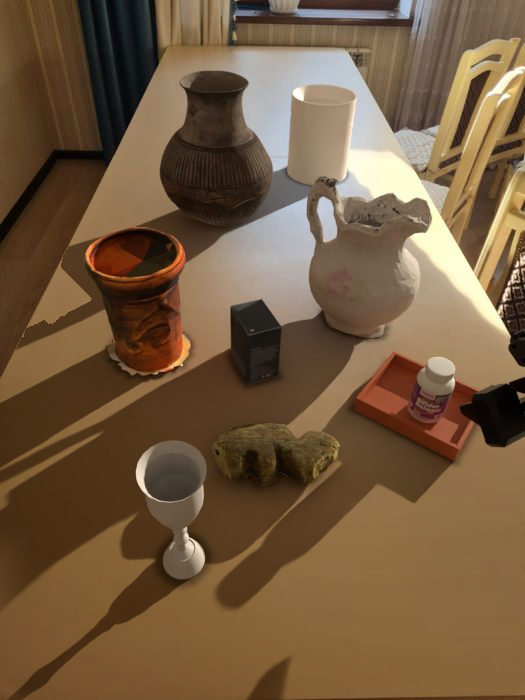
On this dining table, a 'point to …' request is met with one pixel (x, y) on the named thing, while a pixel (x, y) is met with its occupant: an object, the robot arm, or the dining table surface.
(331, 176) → the canister
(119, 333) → the vessel
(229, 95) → the vase
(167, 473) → the chalice
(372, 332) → the ceramic pitcher
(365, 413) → the tray
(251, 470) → the sculpture
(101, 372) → the dining table surface
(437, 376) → the pill bottle
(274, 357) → the box
